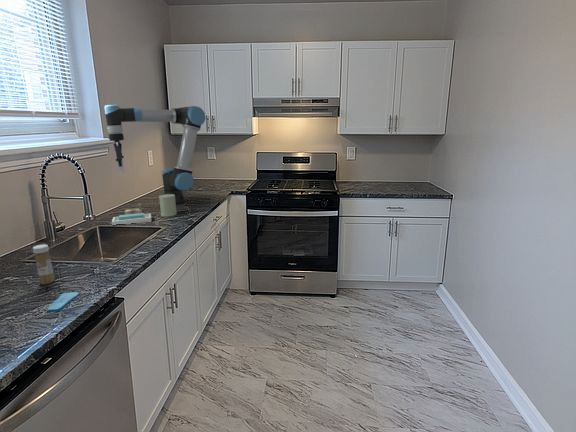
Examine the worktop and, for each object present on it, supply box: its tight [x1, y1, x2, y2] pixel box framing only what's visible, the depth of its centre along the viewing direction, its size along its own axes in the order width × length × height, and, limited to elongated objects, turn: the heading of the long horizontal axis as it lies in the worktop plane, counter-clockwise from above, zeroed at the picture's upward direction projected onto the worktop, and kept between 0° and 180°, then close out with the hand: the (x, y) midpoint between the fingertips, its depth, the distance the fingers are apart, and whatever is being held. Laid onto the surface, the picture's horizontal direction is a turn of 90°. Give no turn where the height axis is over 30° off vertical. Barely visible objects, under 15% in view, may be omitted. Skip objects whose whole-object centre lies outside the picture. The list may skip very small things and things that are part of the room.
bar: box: [118, 212, 145, 220], centre depth 208 cm, size 13×5×3 cm, turn 110°
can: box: [158, 194, 178, 217], centre depth 220 cm, size 9×9×12 cm
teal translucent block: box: [124, 203, 143, 215], centre depth 216 cm, size 9×4×8 cm, turn 110°
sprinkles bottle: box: [32, 244, 56, 285], centre depth 130 cm, size 5×5×13 cm
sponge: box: [46, 291, 81, 313], centre depth 117 cm, size 2×12×6 cm
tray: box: [111, 213, 152, 226], centre depth 208 cm, size 20×10×2 cm, turn 110°
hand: (121, 170), depth 215 cm, fingers open, 13 cm apart
